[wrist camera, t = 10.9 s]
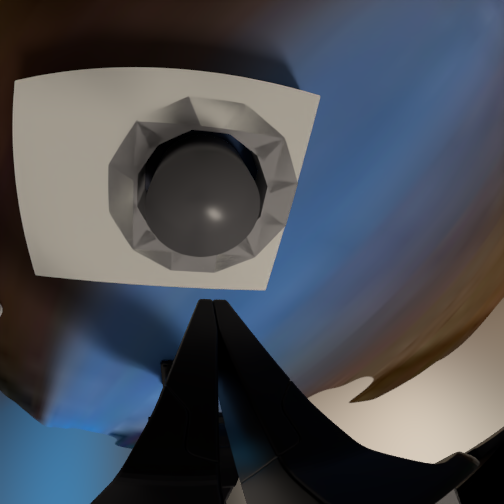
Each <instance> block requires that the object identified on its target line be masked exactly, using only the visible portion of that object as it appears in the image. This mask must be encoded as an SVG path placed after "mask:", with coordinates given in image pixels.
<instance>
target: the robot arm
mask: <svg viewBox="0 0 504 504" xmlns="http://www.w3.org/2000/svg"><path fill="white" fill-rule="evenodd" d="M161 373H162V382H163V389H162V392H161V394H160V397H159V399H158V401H157V404H156V406H155V408H154V411H153V413H152V415H151V417H148V423H147V425H146V426H145V428H144V430H143V432H142V434H141V435H140V437H139V439H138V441H137V442H136V444H135V446H134V448H133V449H132V451H131V453H130V455H129V457H128V459H127V460H126V462H125V464H124V465H123V467H122V468H121V470H120V471H119V473H118V474H117V475H116V477H115V478H114V480H113V481H112V482H111V483H110V484H109V485H108V486H107V487H106V488H105V489H104V490H103V491H102V492H101V494H100V495H98V496H97V497H96V499H94V500H93V501H92V502H91V504H226V500H227V499H228V497H229V495H230V493H231V491H232V489H233V487H235V485H236V483H237V481H238V478H239V479H240V482H241V486H242V489H243V493H244V496H245V499H246V502H247V504H504V427H503V428H501V429H500V430H499V431H497V432H496V433H494V434H493V435H492V436H490V437H489V438H487V439H486V440H485V441H483V442H481V443H480V444H478V445H477V446H475V447H474V448H472V449H470V450H469V451H467V452H465V453H462V452H456V453H454V454H452V455H450V456H448V457H446V458H444V459H443V460H441V461H439V462H437V463H435V464H429V463H423V462H418V461H413V460H409V459H404V458H400V457H396V456H392V455H388V454H384V453H380V452H377V451H374V450H371V449H368V448H366V447H364V446H362V445H361V444H359V443H357V442H356V441H355V440H353V439H352V438H351V437H350V436H348V435H347V434H346V433H345V432H344V431H342V430H341V429H340V428H339V427H338V426H337V425H335V424H334V423H333V422H332V421H331V420H330V419H328V418H327V417H326V416H325V415H324V414H323V413H322V412H321V411H320V410H319V409H317V408H316V407H315V406H314V405H313V404H312V403H311V402H310V401H309V400H308V399H307V398H306V396H305V395H304V394H303V393H302V392H301V391H300V390H299V389H298V388H297V386H296V385H295V384H294V383H293V382H292V381H290V378H289V377H288V376H287V375H286V374H285V372H284V371H283V370H282V369H281V368H280V366H279V365H278V364H277V363H276V362H275V360H274V359H273V358H272V357H271V356H270V354H269V353H268V352H267V351H266V350H265V348H264V347H263V346H262V345H261V343H260V342H259V341H258V340H257V338H256V337H255V336H254V335H253V333H252V332H251V331H250V330H249V328H248V327H247V326H246V325H245V323H244V322H243V321H242V320H241V318H240V317H239V316H238V314H237V313H236V312H235V311H234V309H233V308H232V307H231V305H230V304H229V303H228V302H227V301H226V300H213V301H212V300H211V299H200V300H199V301H198V303H197V305H196V308H195V310H194V312H193V315H192V317H191V320H190V322H189V324H188V327H187V329H186V332H185V334H184V337H183V339H182V342H181V344H180V346H179V349H178V351H177V354H176V356H175V359H174V361H161ZM218 397H219V401H220V405H221V410H222V412H219V409H218Z"/></svg>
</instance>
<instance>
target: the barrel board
mask: <svg viewBox="0 0 504 504" xmlns="http://www.w3.org/2000/svg"><path fill="white" fill-rule="evenodd" d="M319 100H320V96H319V95H316V94H312V93H309V92H306V91H302V90H298V89H295V88H291V87H287V86H283V85H279V84H274V83H270V82H265V81H261V80H256V79H251V78H245V77H240V76H234V75H227V74H221V73H213V72H205V71H196V70H186V69H172V68H151V67H118V68H97V69H84V70H74V71H66V72H58V73H52V74H46V75H40V76H35V77H30V78H25V79H20V80H16V81H15V86H14V99H13V155H14V169H15V179H16V188H17V195H18V202H19V208H20V214H21V219H22V224H23V229H24V234H25V238H26V242H27V246H28V250H29V254H30V258H31V262H32V265H33V269H34V272H35V275H38V276H47V277H56V278H66V279H76V280H87V281H98V282H110V283H123V284H137V285H152V286H169V287H188V288H209V289H237V290H266V287H267V284H268V280H269V277H270V274H271V271H272V267H273V264H274V261H275V257H276V254H277V251H278V247H279V244H280V241H281V237H282V234H283V230H284V227H285V226H286V223H287V219H288V216H289V212H290V209H291V205H292V202H293V198H294V195H295V191H296V188H297V184H298V178H299V174H300V171H301V167H302V164H303V160H304V156H305V153H306V149H307V145H308V142H309V138H310V134H311V130H312V127H313V123H314V119H315V115H316V111H317V107H318V104H319ZM190 130H201V131H210V132H218V133H226V134H230V135H232V136H233V137H234V138H236V139H237V140H238V141H239V142H241V143H242V144H243V145H245V146H246V147H247V148H248V149H250V151H251V154H252V157H253V160H254V162H255V165H256V168H257V174H256V179H255V183H256V185H257V188H258V191H259V196H260V211H259V216H258V219H257V222H256V224H255V226H254V228H253V229H252V231H251V232H250V234H249V235H248V236H247V237H246V238H245V239H244V240H243V241H242V242H241V243H240V244H238V245H237V246H236V247H234V248H232V249H231V250H229V251H227V252H224V253H222V254H218V255H214V256H209V257H193V256H187V255H183V254H180V253H177V252H175V251H173V250H171V249H169V248H168V247H166V246H165V245H164V244H163V243H161V242H160V241H159V240H158V239H157V237H156V236H155V235H154V233H153V232H152V230H151V228H150V226H149V224H148V221H147V218H146V213H145V200H146V195H147V191H146V189H145V175H146V162H147V160H148V159H149V157H150V156H151V154H152V153H153V151H154V150H155V149H156V147H157V146H158V145H159V144H161V143H163V142H166V141H168V140H170V139H172V138H174V137H177V136H179V135H181V134H183V133H186V132H188V131H190Z"/></svg>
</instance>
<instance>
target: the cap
mask: <svg viewBox="0 0 504 504" xmlns="http://www.w3.org/2000/svg"><path fill="white" fill-rule="evenodd" d="M259 211H260V196H259V191H258V188H257V185H256V183H255V181H254V179H253V177H252V176H251V174H250V172H249V170H248V169H247V167H246V165H245V164H244V162H243V160H242V158H241V157H240V155H239V153H238V152H237V151H236V149H235V148H234V147H233V146H232V145H231V144H230V143H228V142H227V141H225V140H223V139H221V138H219V137H216V136H213V135H206V134H198V135H192V136H188V137H185V138H183V139H181V140H179V141H177V142H175V143H174V144H173V145H172V146H170V147H169V148H168V149H167V151H166V152H165V153H164V155H163V156H162V158H161V160H160V162H159V164H158V167H157V169H156V171H155V174H154V176H153V179H152V181H151V183H150V186H149V188H148V191H147V195H146V200H145V213H146V218H147V221H148V224H149V226H150V228H151V230H152V232H153V233H154V235H155V236H156V237H157V239H158V240H159V241H160V242H161V243H163V244H164V245H165V246H166V247H168V248H169V249H171V250H173V251H175V252H177V253H180V254H183V255H187V256H193V257H209V256H214V255H218V254H222V253H224V252H227V251H229V250H231V249H232V248H234V247H236V246H237V245H238V244H240V243H241V242H242V241H243V240H244V239H245V238H246V237H247V236H248V235H249V234H250V232H251V231H252V229H253V228H254V226H255V224H256V222H257V219H258V216H259Z"/></svg>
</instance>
